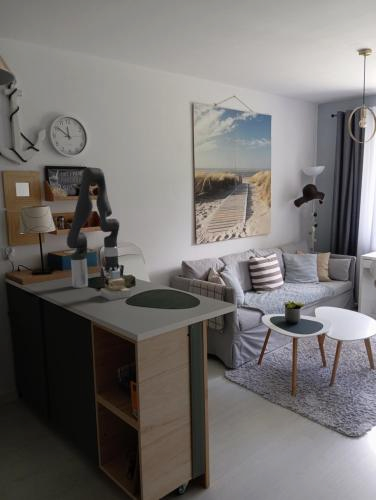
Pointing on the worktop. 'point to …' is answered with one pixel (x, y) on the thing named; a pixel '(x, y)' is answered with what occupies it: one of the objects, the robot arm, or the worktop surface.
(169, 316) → the worktop surface
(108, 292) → the dock
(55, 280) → the worktop surface
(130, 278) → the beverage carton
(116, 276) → the pale blue cube
